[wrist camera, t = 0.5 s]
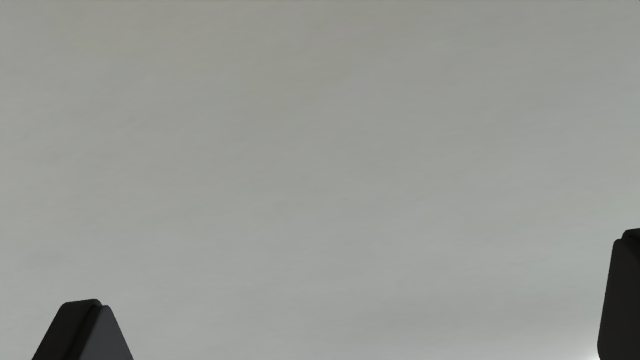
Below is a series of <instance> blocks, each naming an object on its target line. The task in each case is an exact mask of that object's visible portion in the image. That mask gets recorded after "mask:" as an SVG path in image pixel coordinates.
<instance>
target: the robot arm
mask: <svg viewBox="0 0 640 360" xmlns="http://www.w3.org/2000/svg"><path fill="white" fill-rule="evenodd" d="M597 349H598V354H599V358H600V360H640V228H636V229H629V230H626V231H625V232H624V233H623V235H622V238H621V239H617V240H615V242H614V244H613V249H612V255H611V261H610V267H609V274H608V280H607V286H606V292H605V298H604V304H603V311H602V317H601V323H600V329H599V335H598V341H597ZM32 360H134V359H133V357H132V355H131V353H130V350H129V348H128V346H127V344H126V341H125V339H124V337H123V335H122V332H121V330H120V328H119V326H118V323H117V321H116V319H115V317H114V314H113V312H112V310H111V308H110V307H109V306H108V305H103V306H102V304H101V302H100V301H99V300H97V299H89V300H81V301H73V302H66V303H64V304H62V306H61V307H60V308H59V310H58V312H57V314H56V316H55V317H54V319H53V321H52V323H51V325H50V327H49V329H48V330H47V332H46V334H45V336H44V338H43V340H42V342H41V343H40V345H39V347H38V349H37V351H36V353H35V354H34V356H33V358H32Z"/></svg>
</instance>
